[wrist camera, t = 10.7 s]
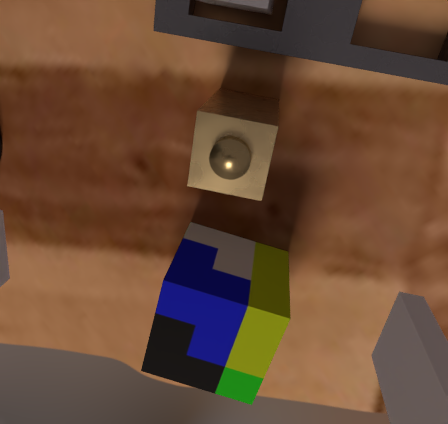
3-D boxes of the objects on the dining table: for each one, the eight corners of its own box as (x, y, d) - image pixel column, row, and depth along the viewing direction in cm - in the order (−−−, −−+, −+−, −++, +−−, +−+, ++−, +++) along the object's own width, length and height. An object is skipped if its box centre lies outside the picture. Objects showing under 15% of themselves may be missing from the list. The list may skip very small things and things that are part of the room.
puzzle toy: (190, 221, 39) (163, 280, 30) (288, 251, 39) (290, 318, 30) (170, 299, 43) (141, 370, 34) (257, 326, 43) (251, 404, 34)
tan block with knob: (211, 145, 35) (185, 188, 26) (220, 88, 33) (195, 112, 24) (266, 156, 35) (261, 204, 25) (279, 99, 33) (278, 128, 23)
